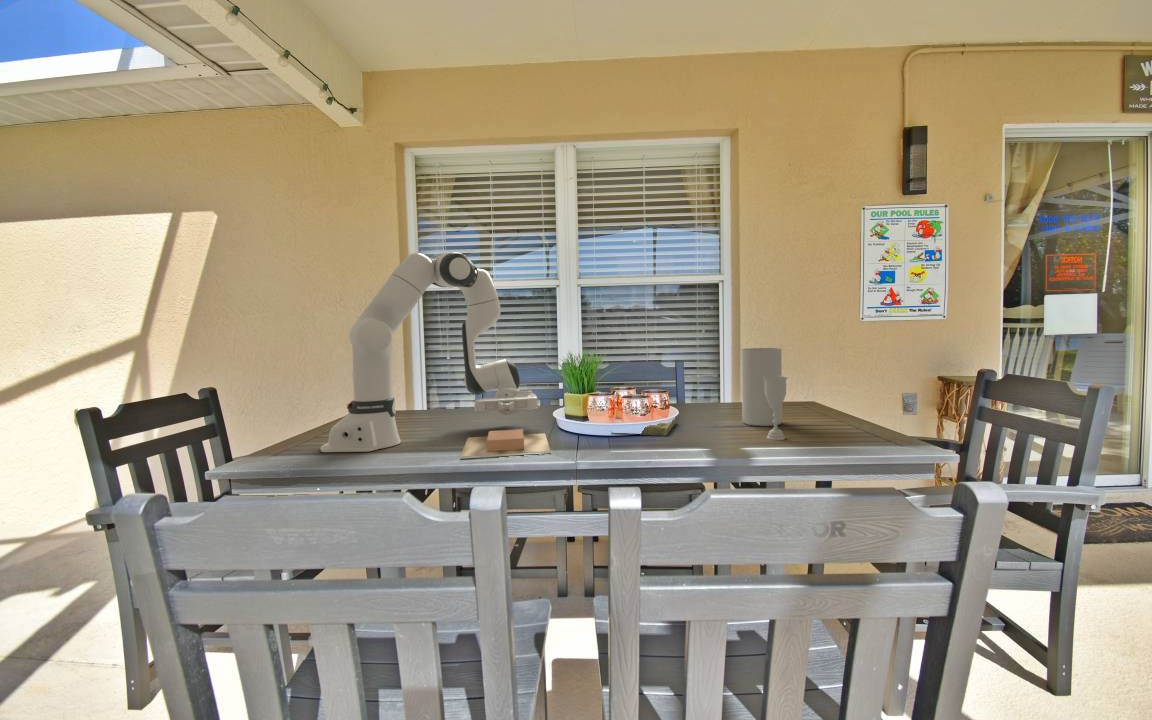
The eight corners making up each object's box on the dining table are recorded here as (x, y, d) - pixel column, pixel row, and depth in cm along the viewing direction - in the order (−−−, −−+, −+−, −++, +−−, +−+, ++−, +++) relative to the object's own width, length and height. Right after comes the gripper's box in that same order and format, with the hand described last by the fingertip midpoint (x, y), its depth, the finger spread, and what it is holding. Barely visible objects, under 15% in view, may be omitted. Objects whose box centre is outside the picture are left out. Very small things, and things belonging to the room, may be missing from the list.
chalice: (761, 435, 152) (760, 375, 151) (785, 435, 150) (785, 375, 149) (765, 440, 145) (764, 378, 144) (790, 441, 143) (790, 377, 142)
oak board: (460, 460, 134) (459, 456, 134) (468, 440, 158) (468, 437, 158) (550, 454, 137) (550, 451, 137) (545, 436, 160) (545, 433, 160)
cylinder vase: (738, 420, 177) (737, 348, 175) (775, 419, 176) (775, 347, 174) (747, 427, 165) (746, 350, 163) (787, 426, 163) (786, 349, 162)
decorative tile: (676, 424, 175) (675, 414, 175) (667, 437, 156) (666, 425, 156) (623, 423, 181) (623, 413, 181) (608, 435, 162) (608, 424, 162)
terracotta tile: (489, 441, 151) (487, 452, 138) (489, 431, 151) (486, 440, 138) (523, 439, 152) (524, 449, 139) (522, 429, 152) (523, 438, 139)
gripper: (475, 393, 169) (471, 398, 156) (536, 390, 172) (538, 395, 158) (476, 412, 170) (472, 419, 156) (537, 408, 172) (538, 415, 158)
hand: (505, 407), depth 157 cm, fingers closed
